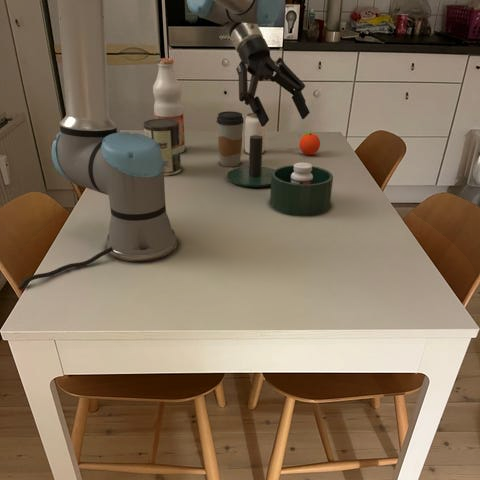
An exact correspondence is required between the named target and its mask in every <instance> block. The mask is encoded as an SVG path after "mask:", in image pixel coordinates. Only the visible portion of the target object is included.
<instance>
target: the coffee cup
mask: <svg viewBox="0 0 480 480" xmlns="http://www.w3.org/2000/svg"><path fill="white" fill-rule="evenodd" d="M244 121H245V120H244V117H243V114H242V113H241V112H240V111H227V110H226V111H221V112H218V113H217V117H216V125H217V141H218V142H217V143H218V152H219V162H220V165H222V166H224V167H237V166H239V165H240V163H241V158H242V157H241V156H242V147H243V146H242V145H243V129H244V123H245V122H244Z"/></svg>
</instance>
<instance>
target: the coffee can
mask: <svg viewBox="0 0 480 480" xmlns="http://www.w3.org/2000/svg"><path fill="white" fill-rule="evenodd" d="M142 124H143V125H142V126H143V133H144V135H145V136H148V137H150V138H152V139H153V140H155V141H156V142H157V143H158V144H159V146H160V149H161V155H162V159H163V165H164V166H163V169H164V177H165V176H173V175H176V174H179V173H180V172H181V171H182V165H181V153H180V145H179V127H178V126H179V122H178V121H176V120H173V119H155V118H153V119H147V120H145V121H144V122H143V123H142Z"/></svg>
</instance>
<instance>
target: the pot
mask: <svg viewBox="0 0 480 480" xmlns="http://www.w3.org/2000/svg"><path fill="white" fill-rule="evenodd" d="M274 169H275V170H274V171H273V172H272V175H271V186H270V195H269V196H270V197H269V201H270V202H269V203H270V206H271V208H272V209H273V210H275V211H276V212H279V213H282V214H285V215H289V216H296V217H309V216H317V215H321V214H324V213H326V212H327V211H328V210H329V208H330V205H331V198H332V189H333V181H334V176H333V173H332V172H330V171H329V170H327V169H325V168H322V167H318V166H314V165H312V171H311V174H312V175H313V182H312V184H295V183H290V181H291V174H292V173H293V172H294V164H291V165H284V166H279V167H277V168H274Z"/></svg>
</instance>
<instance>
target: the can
mask: <svg viewBox="0 0 480 480" xmlns="http://www.w3.org/2000/svg"><path fill="white" fill-rule="evenodd" d="M244 123H245V124H244V125H245V126H244V127H245V128H244V151H245V153H246V154H248V155H249V154H250V136H253V135H259V136H262V137H263V140H262V154H263V153H264V152H265V134H266V125H265V126H263V127H262V126H261V124H260V122H259V120H258V118H257V116H256V114H255V113H253V112H249V113H247V114H246V118H245V122H244Z"/></svg>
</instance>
